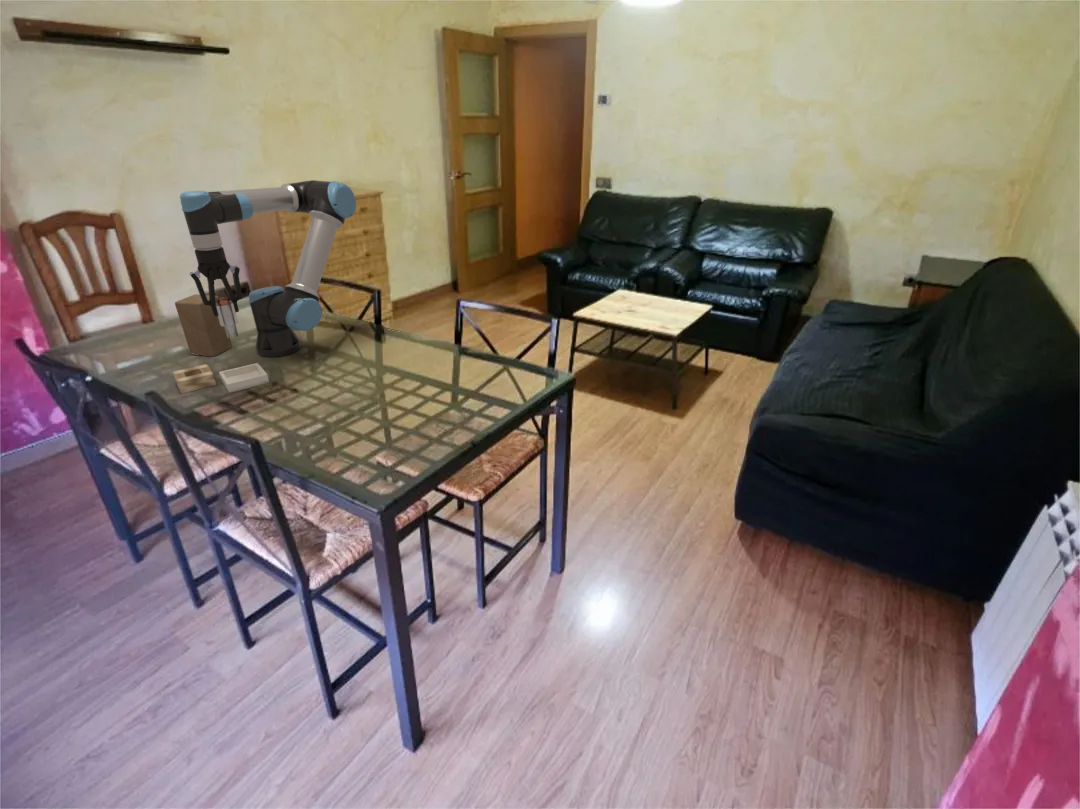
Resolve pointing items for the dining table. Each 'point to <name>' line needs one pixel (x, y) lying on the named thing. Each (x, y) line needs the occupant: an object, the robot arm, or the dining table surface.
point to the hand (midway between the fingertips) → (229, 323)
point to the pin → (227, 317)
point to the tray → (243, 377)
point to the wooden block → (202, 327)
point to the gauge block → (194, 378)
